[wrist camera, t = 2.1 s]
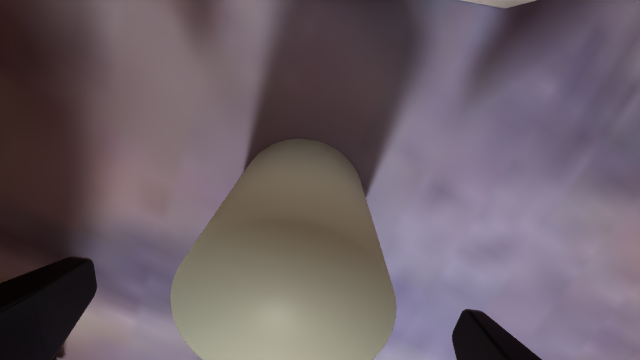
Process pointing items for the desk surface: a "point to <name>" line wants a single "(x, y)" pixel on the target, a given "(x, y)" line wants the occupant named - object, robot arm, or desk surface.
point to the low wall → (500, 2)
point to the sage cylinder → (288, 265)
